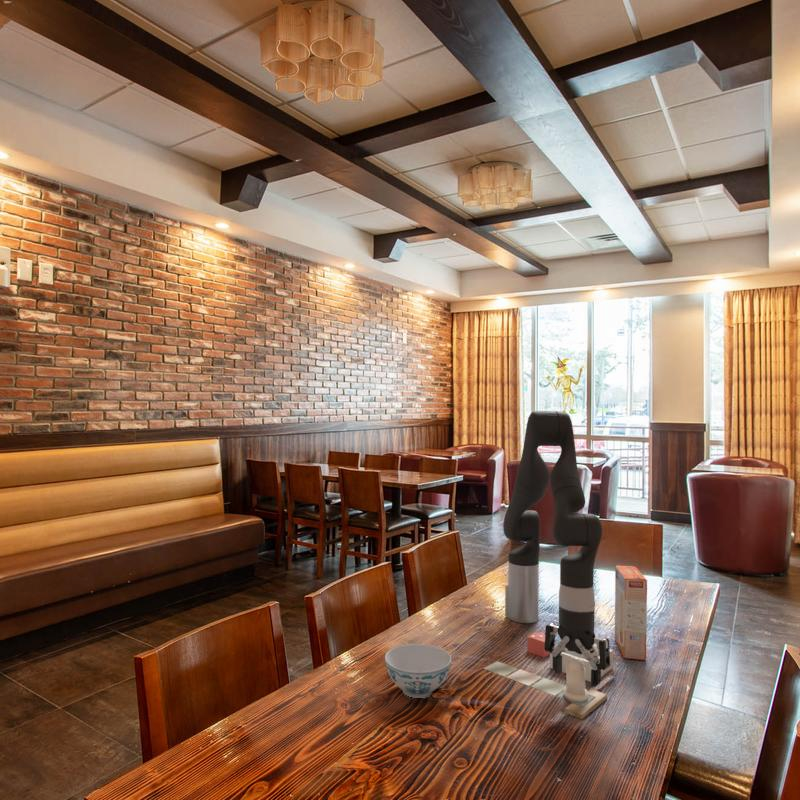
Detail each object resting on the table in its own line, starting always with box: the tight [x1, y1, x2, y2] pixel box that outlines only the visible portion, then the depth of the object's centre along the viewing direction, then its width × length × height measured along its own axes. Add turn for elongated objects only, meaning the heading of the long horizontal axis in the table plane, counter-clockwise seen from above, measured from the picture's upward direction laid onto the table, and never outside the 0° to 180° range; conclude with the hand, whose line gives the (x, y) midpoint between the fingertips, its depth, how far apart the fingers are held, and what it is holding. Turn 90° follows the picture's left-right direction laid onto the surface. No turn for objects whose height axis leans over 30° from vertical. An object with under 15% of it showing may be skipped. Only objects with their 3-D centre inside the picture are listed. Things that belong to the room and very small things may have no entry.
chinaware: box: [384, 643, 452, 699], centre depth 129 cm, size 15×15×8 cm
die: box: [526, 631, 550, 658], centre depth 149 cm, size 5×5×5 cm
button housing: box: [549, 643, 614, 683], centre depth 140 cm, size 11×11×6 cm
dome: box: [565, 644, 599, 659], centre depth 140 cm, size 8×8×8 cm
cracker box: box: [614, 564, 648, 661], centre depth 154 cm, size 14×6×21 cm, turn 168°
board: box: [483, 660, 608, 720], centre depth 132 cm, size 28×12×1 cm, turn 47°
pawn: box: [562, 657, 588, 702], centre depth 125 cm, size 5×5×8 cm
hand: (576, 679), depth 125 cm, fingers open, 8 cm apart
